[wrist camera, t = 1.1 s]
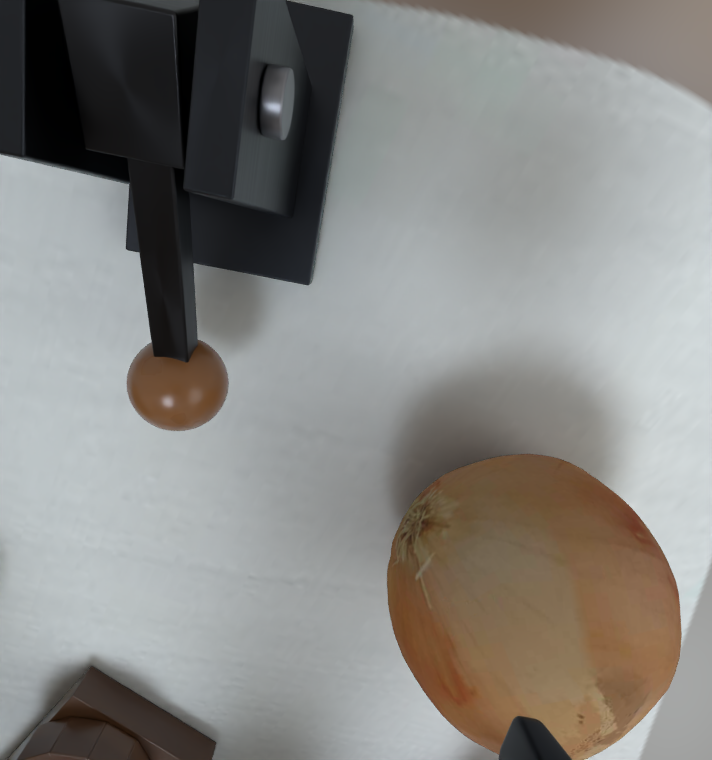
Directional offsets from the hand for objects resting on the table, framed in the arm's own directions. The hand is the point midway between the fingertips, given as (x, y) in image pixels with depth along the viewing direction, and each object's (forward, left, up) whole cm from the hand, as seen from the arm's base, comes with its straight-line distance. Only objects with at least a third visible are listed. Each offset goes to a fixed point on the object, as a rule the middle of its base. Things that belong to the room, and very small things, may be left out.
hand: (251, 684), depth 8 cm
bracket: (+6, +9, -14) cm, 17 cm away
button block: (-24, -4, -14) cm, 28 cm away
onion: (+1, -9, -14) cm, 17 cm away
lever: (+3, +7, -9) cm, 12 cm away
